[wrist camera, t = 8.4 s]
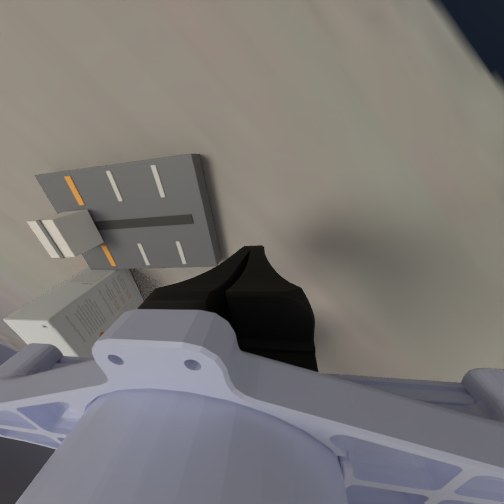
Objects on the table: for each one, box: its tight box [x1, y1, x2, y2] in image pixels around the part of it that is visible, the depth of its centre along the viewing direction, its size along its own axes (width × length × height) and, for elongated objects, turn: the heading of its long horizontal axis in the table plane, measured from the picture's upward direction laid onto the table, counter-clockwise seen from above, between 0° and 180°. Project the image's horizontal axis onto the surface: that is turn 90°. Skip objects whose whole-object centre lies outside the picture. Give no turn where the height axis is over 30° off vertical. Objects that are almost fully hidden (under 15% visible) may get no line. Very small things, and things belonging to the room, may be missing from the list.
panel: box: [35, 154, 221, 270], centre depth 22 cm, size 12×18×2 cm, turn 96°
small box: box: [3, 267, 144, 358], centre depth 24 cm, size 8×6×10 cm
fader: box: [27, 210, 104, 258], centre depth 20 cm, size 4×3×4 cm
